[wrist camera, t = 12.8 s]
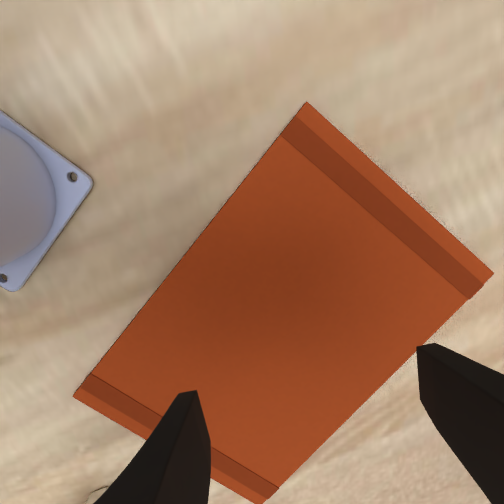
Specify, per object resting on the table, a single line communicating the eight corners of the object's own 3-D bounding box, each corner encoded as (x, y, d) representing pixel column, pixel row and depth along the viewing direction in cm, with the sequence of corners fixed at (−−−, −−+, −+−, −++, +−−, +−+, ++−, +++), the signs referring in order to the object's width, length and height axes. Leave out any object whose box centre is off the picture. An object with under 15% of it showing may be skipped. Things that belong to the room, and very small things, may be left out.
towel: (74, 393, 23) (71, 397, 23) (306, 101, 19) (307, 101, 19) (259, 502, 27) (259, 507, 26) (491, 271, 23) (495, 273, 22)
